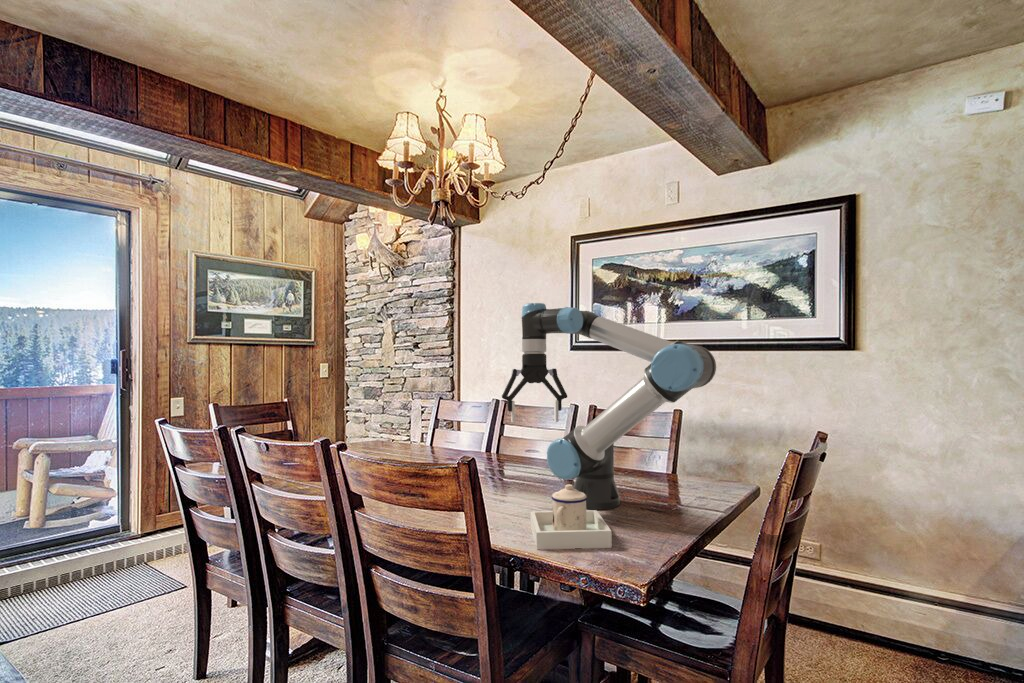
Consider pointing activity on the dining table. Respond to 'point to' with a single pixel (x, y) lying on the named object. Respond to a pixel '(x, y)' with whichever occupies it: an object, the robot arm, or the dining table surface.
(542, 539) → the tray
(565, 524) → the teacup with lid
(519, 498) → the dining table surface
